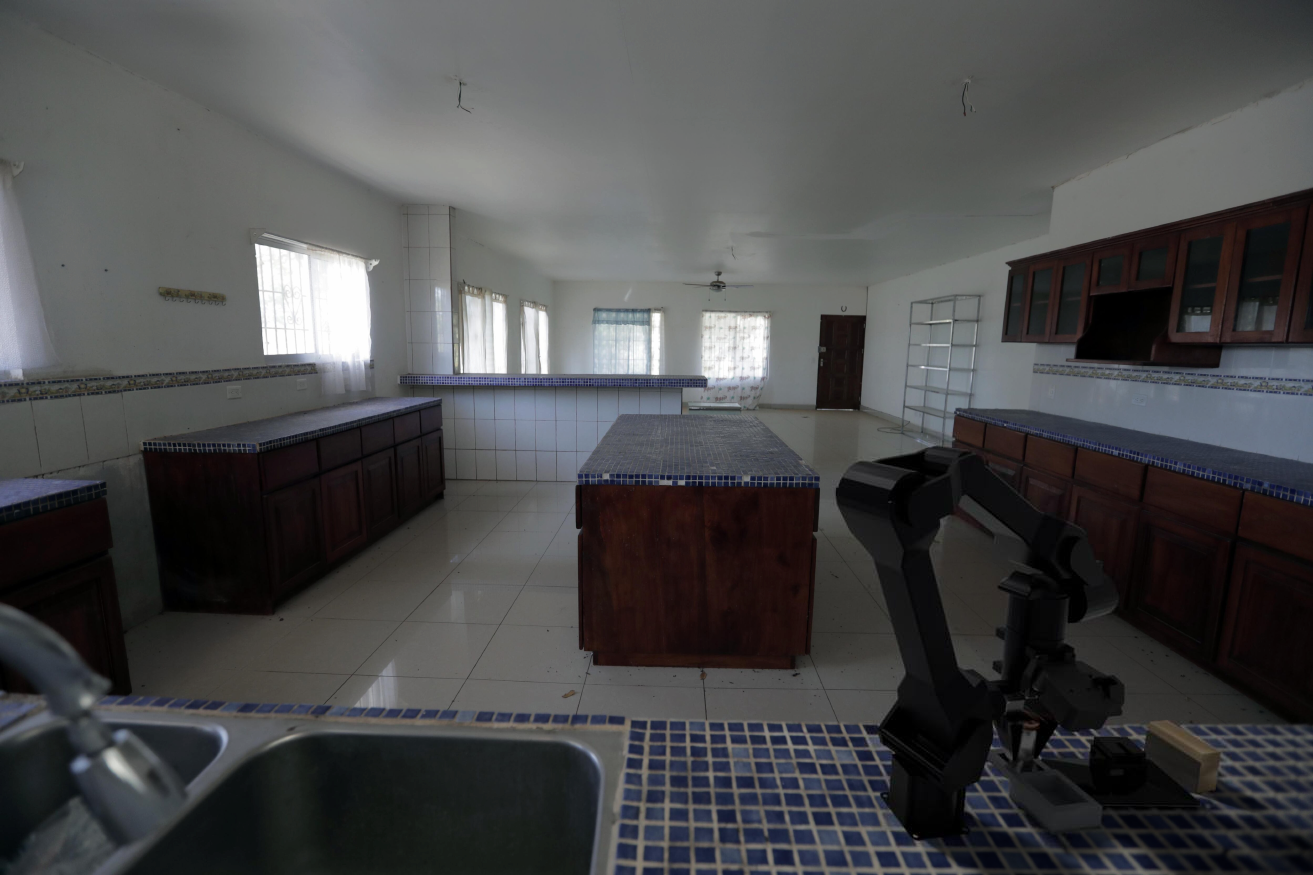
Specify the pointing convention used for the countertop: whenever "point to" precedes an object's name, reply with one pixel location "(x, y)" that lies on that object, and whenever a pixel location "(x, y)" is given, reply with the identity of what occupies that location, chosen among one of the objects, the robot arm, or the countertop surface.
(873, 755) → the countertop surface
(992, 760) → the pin socket
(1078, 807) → the tray
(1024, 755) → the pin
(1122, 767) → the build plate
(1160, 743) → the rail
